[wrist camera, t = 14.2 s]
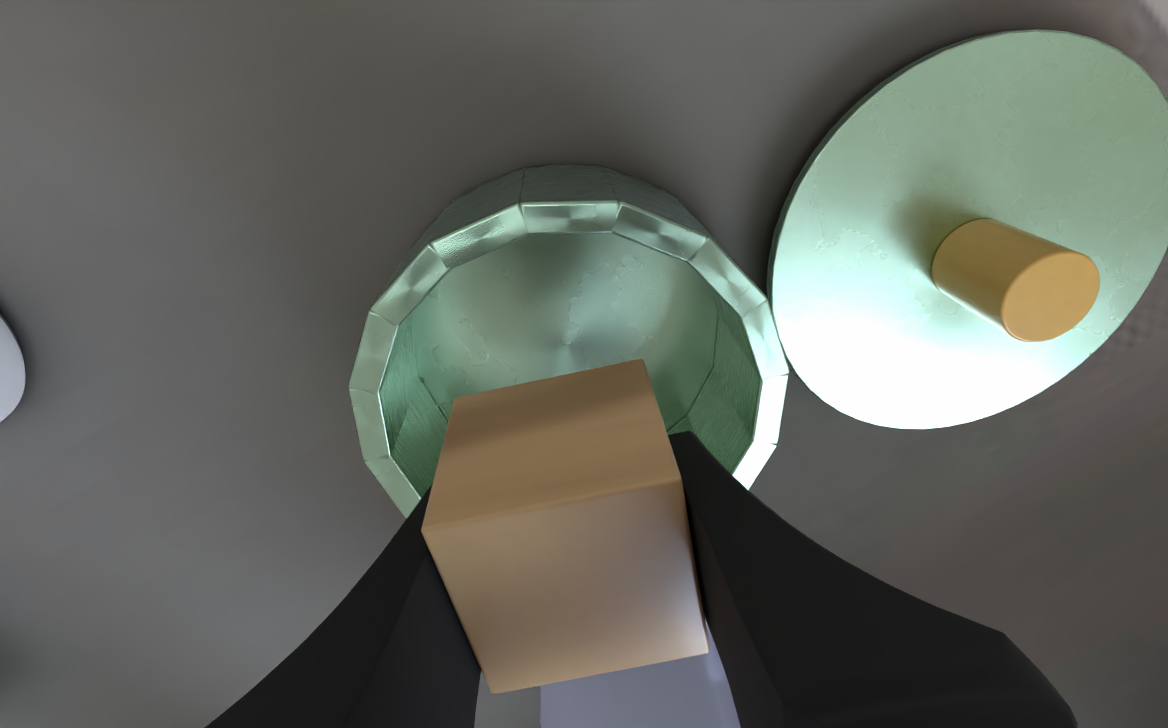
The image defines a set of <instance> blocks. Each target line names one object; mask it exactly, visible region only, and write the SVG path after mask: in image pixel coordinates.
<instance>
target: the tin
mask: <svg viewBox="0 0 1168 728" xmlns="http://www.w3.org/2000/svg"><path fill="white" fill-rule="evenodd" d="M636 359H643V361H644V362H645V366H646V369H647V372H648V375H649V378H650V381H651V384H652V387H653V391H654V394H655V397H656V400H657V403H658V406H659V409H660V412H661V416H662V419H663V422H664V425H665V428H666V431H667V434H668V435H670V434H675V433H680V432H685V431H691V432H692V433H694V434H696V436H697V437H698V438H699V440H700V441H701V442H702V443H703V445H704V446H705V447H706V448H707V449H708V450H709V451H710V453H711V454H712V455H713V456H714V457H715V458H716V459H717V460H718V461H719V462H720V463H721V464H722V465H723V466H724V467H725V468H726V469H727V470H728V471H729V472H730V473H731V474H732V475H733V476H734V477H735V478H736V479H737V480H738V481H739V482H740V483H741V484H742V485H743V486H745V487H746V488H747V489H748V490H749V489H750V487H751V486H752V484H753V483H754V481H755V479H756V478H757V476H758V475H759V473H760V472H761V470H762V469H763V467H764V465H765V464H766V462H767V461H768V459H769V458H770V456H771V455H772V453H773V451H774V450H775V448H776V447H777V443H778V440H779V434H780V428H781V421H782V415H783V409H784V403H785V397H786V391H787V385H788V379H789V367H788V364H787V360H786V357H785V354H784V350H783V347H782V344H781V340H780V337H779V334H778V330H777V327H776V324H775V320H774V317H773V314H772V310H771V307H770V304H769V300H768V299H767V297H766V296H765V294H764V293H763V292H762V291H761V290H760V289H759V288H758V286H757V285H756V284H755V283H754V282H753V281H752V280H751V279H750V277H749V276H748V275H747V274H746V273H745V272H744V271H743V269H742V268H741V267H740V266H739V265H738V264H737V263H736V262H735V260H734V259H733V258H732V257H731V256H730V255H729V254H728V252H727V251H726V250H725V249H724V248H723V247H722V246H721V245H720V244H719V243H718V241H717V240H716V239H715V238H714V237H713V236H712V235H711V234H710V233H709V232H708V231H707V230H706V229H705V228H704V227H703V225H702V224H701V223H700V222H699V221H698V220H697V219H696V218H695V217H694V216H693V215H692V214H691V213H690V212H689V211H688V209H687V208H686V207H685V206H684V205H683V204H682V203H681V202H680V201H679V200H678V199H677V198H676V197H675V196H673V195H672V194H670V193H667V192H665V191H662V190H660V189H658V188H656V187H654V186H652V185H650V184H648V183H646V182H644V181H642V180H640V179H638V178H636V177H633V176H630V175H627V174H624V173H621V172H618V171H615V170H612V169H609V168H607V167H604V168H603V167H601V166H589V165H569V164H560V165H549V166H537V167H531V168H525V169H520V170H517V171H515V172H512V173H509V174H506V175H504V176H501V177H498V178H496V179H493V180H490V181H488V182H486V183H484V184H483V185H481V186H479V187H477V188H475V189H473V190H471V191H470V192H468V193H466V194H464V195H462V196H460V197H458V198H456V199H455V200H454V201H451V202H450V204H449V205H448V206H447V207H446V208H445V209H444V210H443V211H442V213H441V214H440V215H439V216H438V217H437V218H436V219H435V220H434V221H433V222H432V223H431V224H430V225H429V227H428V228H427V229H426V231H425V232H424V233H423V234H422V235H421V237H420V238H419V239H418V240H417V241H416V242H415V243H414V244H413V246H412V247H411V248H410V249H409V250H408V251H407V252H406V254H405V255H404V257H403V258H402V260H401V261H400V263H399V264H398V266H397V268H396V269H395V271H394V272H393V274H392V275H391V277H390V278H389V280H388V281H387V283H386V284H385V286H384V287H383V289H382V291H381V292H380V294H379V295H378V297H377V298H376V300H375V301H374V303H373V304H372V306H371V308H370V310H369V311H368V314H367V318H366V322H365V325H364V329H363V333H362V336H361V340H360V344H359V347H358V351H357V355H356V358H355V362H354V366H353V370H352V373H351V377H350V381H349V384H348V386H349V389H348V390H349V395H350V400H351V405H352V409H353V414H354V419H355V424H356V429H357V433H358V438H359V443H360V448H361V453H362V457H363V460H364V463H365V464H366V466H367V467H368V468H369V470H370V471H371V472H372V474H373V475H374V476H375V478H376V479H377V480H378V482H379V483H380V484H381V486H382V487H383V489H384V490H385V491H386V493H387V494H388V495H389V497H390V498H391V499H392V501H393V502H394V503H395V505H396V506H397V508H398V509H399V510H400V512H401V513H402V514H403V516H404V517H405V518H406V519H407V518H408V516H409V515H410V514H411V512H412V511H413V509H414V508H415V507H416V505H417V504H418V502H419V501H420V500H421V498H422V497H423V495H424V494H425V493H426V491H427V490H428V489H429V487H430V486H431V485H432V483H433V481H434V477H435V473H436V469H437V465H438V461H439V457H440V453H441V449H442V445H443V441H444V437H445V433H446V429H447V425H448V421H449V417H450V413H451V409H452V405H453V401H454V399H455V398H457V397H460V396H465V395H470V394H475V393H479V392H484V391H489V390H494V389H498V388H503V387H508V386H512V385H517V384H522V383H527V382H531V381H536V380H541V379H546V378H550V377H555V376H560V375H565V374H569V373H574V372H579V371H583V370H588V369H593V368H598V367H602V366H607V365H612V364H617V363H621V362H626V361H631V360H636Z"/></svg>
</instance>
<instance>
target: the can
mask: <svg viewBox="0 0 1168 728" xmlns="http://www.w3.org/2000/svg"><path fill="white" fill-rule="evenodd" d="M24 387H25V367H24V359H23V354H22V350H21V347H20V345H19V342H18V340H17V338H16V336H15V334H14V332H13V330H12V329H11V327H10V325H9V324H8V322H7V321H6V320H5V318H4V317H3V316H2V315H1V313H0V422H1V421H2V420H4V419H5V418H6V417H7V416H8V415H9V414H10V413H11V412H12V411H13V410H14V409H15V408H16V406H17V405H18V403H19V402H20V400H21V397H22V395H23V391H24Z"/></svg>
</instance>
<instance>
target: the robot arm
mask: <svg viewBox="0 0 1168 728" xmlns="http://www.w3.org/2000/svg"><path fill="white" fill-rule="evenodd" d="M668 437H669V441H670V444H671V447H672V450H673V453H674V456H675V459H676V462H677V466H678V469H679V472H680V475H681V478H682V484H683V490H684V496H685V502H686V508H687V514H688V520H689V525H690V531H691V537H692V543H693V549H694V555H695V561H696V567H697V573H698V579H699V585H700V591H701V597H702V603H703V609H704V615H705V621H706V627H707V633H708V639H709V645H710V651H709V653H707V654H703V655H698V656H693V657H687V658H682V659H677V660H672V661H666V662H661V663H656V664H651V665H645V666H640V667H635V668H630V669H624V670H619V671H614V672H609V673H603V674H598V675H593V676H588V677H582V678H577V679H572V680H567V681H561V682H556V683H551V684H545V685H540V728H1077V721H1076V719H1075V717H1074V715H1073V712H1072V710H1071V708H1070V707H1069V705H1068V704H1067V703H1066V702H1065V700H1064V699H1063V698H1062V697H1061V695H1060V694H1059V693H1058V692H1057V690H1056V689H1055V688H1054V687H1053V685H1052V684H1051V683H1050V682H1049V680H1048V679H1047V678H1046V677H1045V676H1044V675H1043V674H1042V673H1041V671H1040V670H1039V669H1038V668H1037V667H1036V666H1035V665H1034V664H1033V663H1032V662H1031V661H1030V659H1029V658H1028V657H1027V656H1026V655H1025V654H1024V653H1023V652H1022V651H1021V650H1020V649H1019V648H1018V647H1017V646H1016V645H1015V644H1014V643H1013V642H1012V641H1011V640H1010V639H1009V638H1008V637H1007V636H1006V635H1005V634H1004V633H1002V632H1000V631H997V630H995V629H992V628H989V627H987V626H984V625H982V624H979V623H977V622H974V621H972V620H969V619H967V618H964V617H961V616H959V615H956V614H954V613H951V612H949V611H946V610H944V609H941V608H938V607H936V606H934V605H931V604H929V603H927V602H925V601H923V600H920V599H918V598H916V597H914V596H912V595H910V594H908V593H905V592H903V591H901V590H899V589H897V588H895V587H892V586H891V585H889V584H887V583H885V582H883V581H881V580H879V579H877V578H875V577H874V576H872V575H870V574H868V573H866V572H864V571H863V570H861V569H859V568H857V567H855V566H853V565H852V564H850V563H848V562H846V561H844V560H843V559H841V558H839V557H838V556H836V555H835V554H833V553H831V552H830V551H828V550H827V549H825V548H823V547H822V546H820V545H819V544H817V543H816V542H814V541H813V540H812V539H810V538H809V537H807V536H806V535H804V534H803V533H801V532H800V531H798V530H797V529H796V528H794V527H793V526H792V525H790V524H789V523H788V522H786V521H785V520H784V519H782V518H781V517H780V516H779V515H777V514H776V513H775V512H774V511H772V510H771V509H770V508H769V507H767V506H766V505H765V504H764V503H763V502H761V501H760V500H759V499H758V498H757V497H756V496H754V495H753V494H752V493H751V492H750V491H749V490H748V489H747V488H746V487H745V486H743V485H742V484H741V483H740V482H739V481H738V480H737V479H736V478H735V477H734V476H733V475H732V474H731V473H730V472H729V471H728V470H727V469H726V468H725V467H724V466H723V465H722V464H721V463H720V462H719V461H718V460H717V459H716V458H715V457H714V456H713V455H712V454H711V453H710V451H709V450H708V449H707V448H706V447H705V446H704V445H703V443H702V442H701V441H700V440H699V438H698V437H697V436H696V434H694V433H692V432H691V431H685V432H680V433H675V434H670V435H668ZM432 484H433V483H432ZM431 488H432V485H431V486H430V487H429V489H428V490H427V491H426V493H425V494H424V495H423V497H422V498H421V500H420V501H419V502H418V504H417V505H416V507H415V508H414V509H413V511H412V512H411V514H410V515H409V516H408V518H407V519H406V521H405V522H404V523H403V525H402V526H401V527H400V529H399V530H398V532H397V533H396V534H395V536H394V537H393V538H392V540H391V541H390V542H389V544H388V545H387V546H386V548H385V549H384V550H383V552H382V553H381V554H380V556H379V557H378V558H377V559H376V561H375V562H374V563H373V564H372V566H371V567H370V568H369V569H368V570H367V572H366V573H365V574H364V575H363V577H362V578H361V579H360V580H359V581H358V583H357V584H356V585H355V586H354V587H353V589H352V590H351V591H350V592H349V594H348V595H347V596H346V597H345V598H344V599H343V601H342V602H341V603H340V604H339V605H338V606H337V607H336V608H335V609H334V611H333V612H332V613H331V614H330V615H329V616H328V617H327V618H326V619H325V620H324V621H323V622H322V623H321V624H320V625H319V626H318V627H317V628H316V629H315V630H314V632H313V633H312V634H311V635H310V636H309V637H308V638H307V639H306V640H305V641H304V642H303V643H302V644H301V645H300V646H299V647H298V648H297V649H295V650H294V651H293V652H292V653H291V654H290V655H289V656H288V657H287V658H286V659H285V660H283V661H282V662H281V663H280V664H279V665H278V666H277V667H276V668H275V669H274V670H272V671H271V672H270V673H269V674H268V675H267V676H266V677H265V678H264V679H263V680H262V681H260V682H259V683H258V684H257V685H256V686H255V687H254V688H253V689H251V690H250V691H249V692H248V693H247V694H246V695H244V696H243V697H242V698H241V699H240V700H238V701H237V702H236V703H235V704H234V705H232V706H231V707H230V708H229V709H227V710H226V711H225V712H224V713H223V714H221V715H220V716H219V717H218V718H216V719H215V720H214V721H212V722H211V723H210V724H209V725H207V726H206V727H205V728H474V722H475V711H476V703H477V695H478V688H479V681H480V673H481V668H480V665H479V663H478V661H477V659H476V656H475V654H474V652H473V649H472V647H471V645H470V642H469V640H468V638H467V636H466V633H465V631H464V629H463V626H462V624H461V622H460V619H459V617H458V615H457V612H456V610H455V608H454V606H453V603H452V601H451V599H450V596H449V594H448V592H447V589H446V587H445V585H444V583H443V580H442V578H441V576H440V573H439V571H438V569H437V566H436V564H435V562H434V559H433V557H432V555H431V553H430V550H429V548H428V546H427V543H426V541H425V539H424V536H423V534H422V532H421V529H422V524H423V520H424V516H425V512H426V508H427V504H428V500H429V496H430V492H431Z"/></svg>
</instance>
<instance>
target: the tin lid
mask: <svg viewBox="0 0 1168 728" xmlns="http://www.w3.org/2000/svg"><path fill="white" fill-rule="evenodd" d="M1167 247H1168V101H1167V99H1166V98H1165V96H1164V94H1163V93H1162V91H1161V90H1160V88H1159V86H1158V85H1157V83H1156V82H1155V81H1154V80H1153V78H1152V77H1151V76H1150V75H1149V74H1148V73H1147V72H1146V71H1145V70H1144V69H1143V68H1142V67H1141V66H1140V65H1139V64H1138V63H1137V62H1136V61H1134V60H1133V59H1131V58H1130V57H1129V56H1127V55H1126V54H1124V53H1123V52H1122V51H1120V50H1119V49H1117V48H1115V47H1113V46H1111V45H1108V44H1106V43H1104V42H1102V41H1100V40H1097V39H1095V38H1093V37H1088V36H1084V35H1080V34H1076V33H1072V32H1068V31H1058V30H1044V29H1025V30H1013V31H1001V32H995V33H990V34H986V35H981V36H977V37H973V38H968V39H965V40H962V41H960V42H957V43H954V44H951V45H949V46H946V47H943V48H941V49H938V50H935V51H934V52H932V53H930V54H928V55H926V56H924V57H922V58H920V59H918V60H916V61H914V62H912V63H910V64H908V65H906V66H905V67H903V68H902V69H900V70H899V71H897V72H896V73H894V74H893V75H891V76H890V77H888V78H887V79H885V80H884V81H882V82H881V83H879V84H878V85H877V86H876V87H875V88H873V89H872V90H871V91H870V92H869V93H867V94H866V95H865V96H864V97H863V98H861V99H860V100H859V101H858V102H857V103H855V104H854V105H853V106H852V107H851V108H850V109H849V110H848V111H847V112H846V113H845V114H844V116H843V117H842V118H841V119H840V120H839V121H838V122H837V123H836V124H835V125H834V126H833V127H832V128H831V129H830V130H829V132H828V133H827V134H826V135H825V137H824V138H823V139H822V141H821V142H820V143H819V145H818V146H817V147H816V148H815V150H814V151H813V152H812V154H811V155H810V157H809V158H808V160H807V162H806V163H805V165H804V166H803V168H802V170H801V171H800V173H799V175H798V176H797V178H796V179H795V181H794V183H793V186H792V188H791V190H790V192H789V194H788V196H787V198H786V200H785V203H784V205H783V207H782V210H781V213H780V216H779V219H778V222H777V225H776V228H775V231H774V234H773V239H772V244H771V249H770V254H769V259H768V270H767V299H768V300H769V304H770V307H771V310H772V314H773V317H774V320H775V324H776V327H777V330H778V334H779V337H780V340H781V344H782V347H783V350H784V354H785V357H786V360H787V362H788V363H789V365H790V367H791V368H792V370H793V371H794V372H795V373H796V375H797V376H798V377H799V378H800V379H801V381H802V382H803V383H804V384H805V385H806V387H807V388H808V389H809V390H810V391H812V392H813V393H814V394H815V395H816V396H817V397H818V398H820V399H821V400H822V401H823V402H825V403H826V404H828V405H829V406H831V407H833V408H834V409H836V410H837V411H839V412H841V413H843V414H846V415H848V416H850V417H852V418H855V419H857V420H860V421H863V422H867V423H871V424H874V425H878V426H883V427H891V428H898V429H931V428H942V427H949V426H954V425H959V424H964V423H969V422H972V421H975V420H978V419H982V418H985V417H988V416H992V415H994V414H996V413H999V412H1001V411H1004V410H1006V409H1009V408H1011V407H1013V406H1016V405H1018V404H1020V403H1022V402H1023V401H1025V400H1027V399H1029V398H1031V397H1033V396H1035V395H1037V394H1039V393H1040V392H1042V391H1043V390H1045V389H1046V388H1048V387H1050V386H1051V385H1053V384H1054V383H1056V382H1057V381H1059V380H1061V379H1062V378H1063V377H1064V376H1066V375H1067V374H1068V373H1070V372H1071V371H1072V370H1074V369H1075V368H1076V367H1078V366H1079V365H1080V364H1081V363H1083V362H1084V361H1085V360H1086V359H1087V358H1088V357H1089V356H1090V355H1091V354H1092V353H1094V352H1095V351H1096V350H1097V349H1098V348H1099V347H1100V346H1101V345H1102V344H1103V343H1104V342H1105V341H1106V340H1107V339H1108V338H1109V337H1110V336H1111V334H1112V333H1113V332H1114V331H1115V330H1116V329H1117V328H1118V327H1119V326H1120V325H1121V323H1122V322H1123V321H1124V320H1125V318H1126V317H1127V316H1128V314H1129V313H1130V312H1131V310H1132V309H1133V308H1134V307H1135V305H1136V304H1137V303H1138V301H1139V299H1140V298H1141V296H1142V295H1143V293H1144V291H1145V290H1146V288H1147V287H1148V285H1149V284H1150V282H1151V280H1152V279H1153V277H1154V275H1155V273H1156V271H1157V269H1158V267H1159V265H1160V263H1161V261H1162V259H1163V257H1164V255H1165V252H1166V249H1167Z"/></svg>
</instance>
